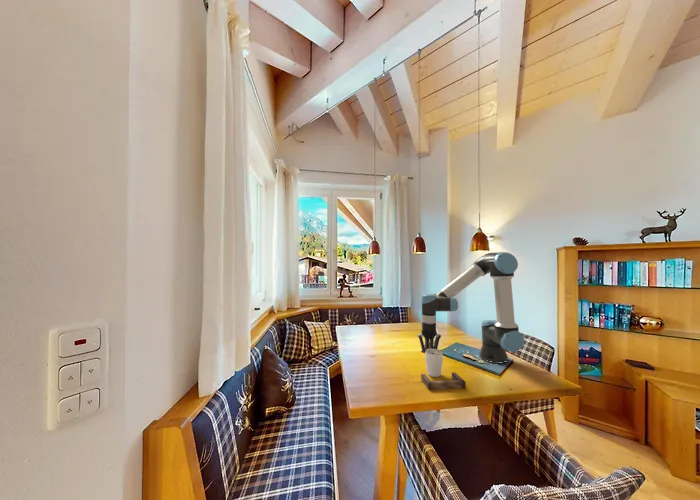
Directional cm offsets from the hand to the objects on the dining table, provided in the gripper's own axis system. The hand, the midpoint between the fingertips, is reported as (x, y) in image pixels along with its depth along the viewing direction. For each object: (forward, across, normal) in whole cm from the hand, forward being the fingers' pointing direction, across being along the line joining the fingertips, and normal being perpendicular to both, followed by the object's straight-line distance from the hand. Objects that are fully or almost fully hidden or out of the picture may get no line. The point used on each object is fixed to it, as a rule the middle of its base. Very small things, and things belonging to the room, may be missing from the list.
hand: (429, 365), depth 142 cm
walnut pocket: (+3, 0, +17) cm, 17 cm away
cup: (+3, 0, +6) cm, 6 cm away
